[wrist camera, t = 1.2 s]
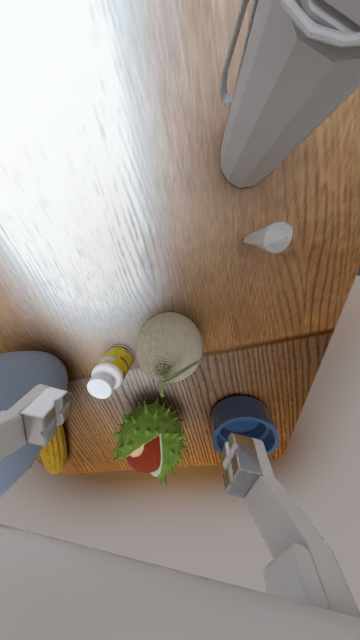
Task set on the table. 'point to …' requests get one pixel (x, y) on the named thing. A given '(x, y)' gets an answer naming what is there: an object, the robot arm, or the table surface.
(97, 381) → the supplement bottle
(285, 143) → the water bottle
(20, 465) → the vase
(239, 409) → the bowl
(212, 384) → the table surface
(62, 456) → the food
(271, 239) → the pen
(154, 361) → the fruit
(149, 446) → the chestnut
